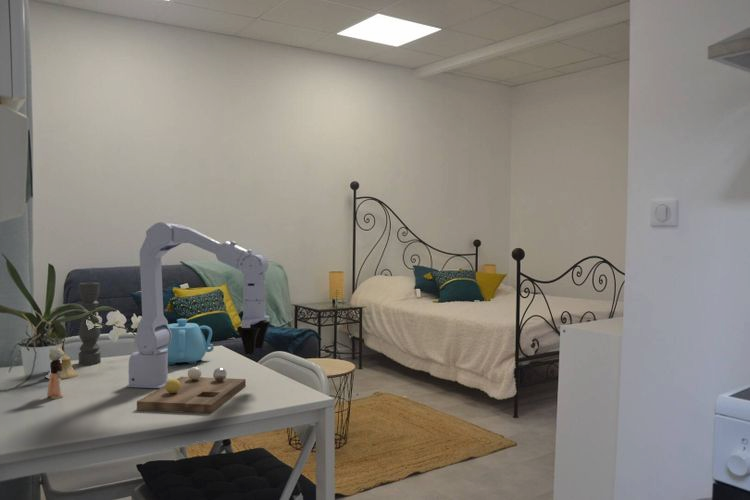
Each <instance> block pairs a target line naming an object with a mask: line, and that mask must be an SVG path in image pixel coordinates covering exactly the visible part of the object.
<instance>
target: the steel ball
mask: <svg viewBox="0 0 750 500" xmlns="http://www.w3.org/2000/svg"><path fill="white" fill-rule="evenodd" d="M227 377H228V373H227V370H226V369H225V368H224V367H218V368H216V369H215V370H214V371H213V373H212V378H214V379H215V380H217V381H223V380H224V379H225V378H227Z"/></svg>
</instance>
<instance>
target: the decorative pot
mask: <svg viewBox="0 0 750 500" xmlns="http://www.w3.org/2000/svg"><path fill="white" fill-rule="evenodd" d="M176 322H177V323H168V327H169V329H170V331H171V334H172V339H171V342H170V343H169V344H168V345H167V349H168V351H167V352H168V366H173V365H176V363H188V364H189V365H194V364H197V363H198V361H199V360H200V361H201V360H202V359H203V357H204V356H206V353H211V352H213V350H214V348H215V347H214V344H213V343H211V340H212V336H213V330H212V328H211V327H210V326H209V325H199V324H197V323H195V322H188V319H187V318H178V319H176ZM203 329H205V330H207V331H208V336H207V340H206V338H205V336H204V334H203V331H202V330H203ZM209 347H211V348H209Z"/></svg>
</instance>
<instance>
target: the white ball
mask: <svg viewBox="0 0 750 500" xmlns="http://www.w3.org/2000/svg"><path fill="white" fill-rule="evenodd" d="M201 376H202V370H201V368H199V367H197V366H192V367H190V368H189V369H188V372H187V377H189V378H190V379H191V380H197V379H199V378H200V377H201Z"/></svg>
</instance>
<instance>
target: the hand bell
mask: <svg viewBox="0 0 750 500" xmlns="http://www.w3.org/2000/svg"><path fill="white" fill-rule="evenodd" d="M65 329H66V330H67V328H66V327H65ZM65 340H66V338H65V339H64V341H63V346H62V350H63V352H64V355H63V356H62V363H61V367H62V374H61V375H62V378H61V380H62V381H63V380H68V379H72V378H75V377H77V376H78V375H79V374H78V373H77V371H75V370H74V368H73V365H72V362H71V357H70V356H68V355H67V354H66V353H65V351H66V350H65Z"/></svg>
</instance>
